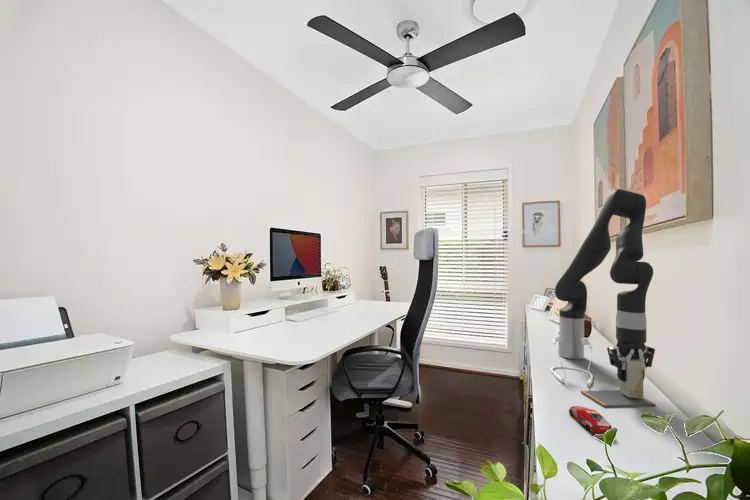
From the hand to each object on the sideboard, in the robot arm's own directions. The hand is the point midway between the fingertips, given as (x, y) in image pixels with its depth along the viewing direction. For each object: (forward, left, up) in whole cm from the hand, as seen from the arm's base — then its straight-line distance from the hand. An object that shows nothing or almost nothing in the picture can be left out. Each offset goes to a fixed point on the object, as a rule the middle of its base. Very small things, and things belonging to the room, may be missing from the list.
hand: (630, 380), depth 103 cm
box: (0, 0, -5) cm, 5 cm away
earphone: (-18, -7, -6) cm, 20 cm away
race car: (+14, -23, -6) cm, 28 cm away
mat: (0, -5, -6) cm, 7 cm away
